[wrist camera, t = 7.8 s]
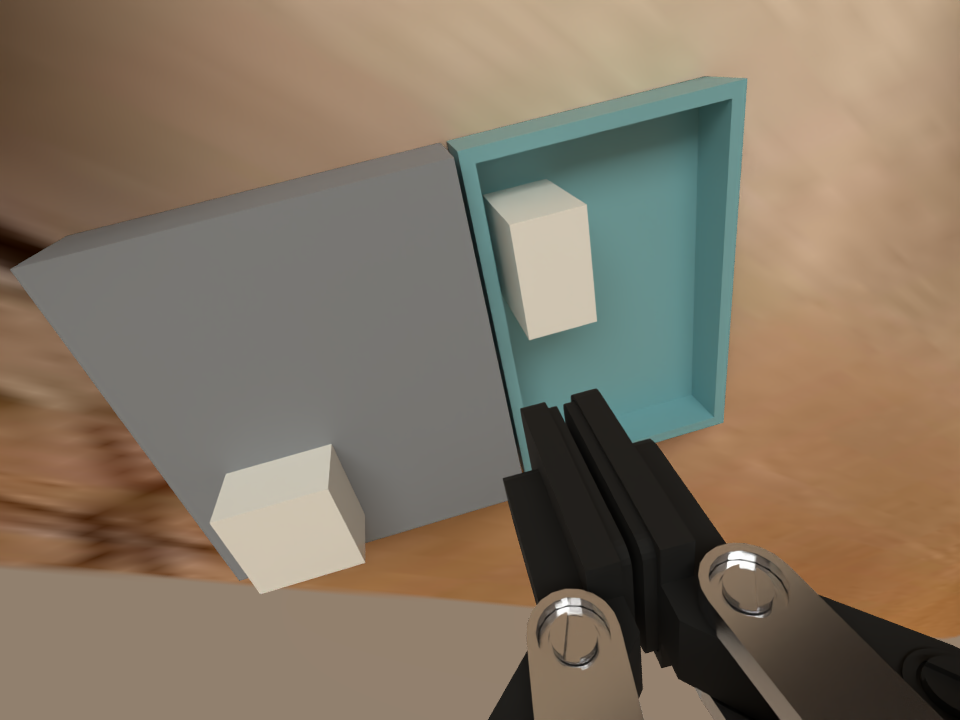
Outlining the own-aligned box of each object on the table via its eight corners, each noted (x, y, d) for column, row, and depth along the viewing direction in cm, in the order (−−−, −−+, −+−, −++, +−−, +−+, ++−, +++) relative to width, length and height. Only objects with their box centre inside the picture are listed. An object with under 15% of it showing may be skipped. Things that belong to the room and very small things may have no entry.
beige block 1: (331, 443, 24) (327, 489, 22) (364, 514, 27) (365, 562, 24) (225, 473, 24) (209, 523, 21) (270, 542, 26) (260, 594, 24)
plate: (439, 142, 22) (453, 157, 19) (508, 448, 32) (526, 494, 28) (66, 236, 21) (10, 269, 18) (253, 523, 31) (239, 580, 27)
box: (704, 76, 23) (747, 78, 20) (695, 394, 32) (723, 422, 30) (446, 140, 22) (457, 151, 20) (513, 447, 32) (526, 480, 29)
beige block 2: (482, 195, 23) (546, 178, 23) (501, 294, 26) (558, 278, 26) (509, 225, 19) (586, 204, 19) (529, 340, 22) (597, 321, 22)
